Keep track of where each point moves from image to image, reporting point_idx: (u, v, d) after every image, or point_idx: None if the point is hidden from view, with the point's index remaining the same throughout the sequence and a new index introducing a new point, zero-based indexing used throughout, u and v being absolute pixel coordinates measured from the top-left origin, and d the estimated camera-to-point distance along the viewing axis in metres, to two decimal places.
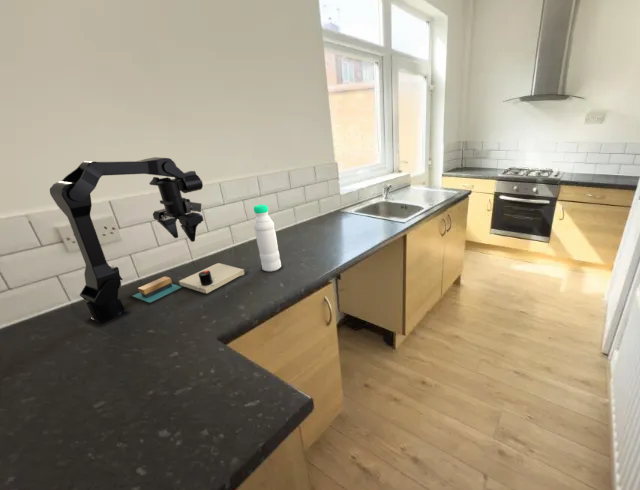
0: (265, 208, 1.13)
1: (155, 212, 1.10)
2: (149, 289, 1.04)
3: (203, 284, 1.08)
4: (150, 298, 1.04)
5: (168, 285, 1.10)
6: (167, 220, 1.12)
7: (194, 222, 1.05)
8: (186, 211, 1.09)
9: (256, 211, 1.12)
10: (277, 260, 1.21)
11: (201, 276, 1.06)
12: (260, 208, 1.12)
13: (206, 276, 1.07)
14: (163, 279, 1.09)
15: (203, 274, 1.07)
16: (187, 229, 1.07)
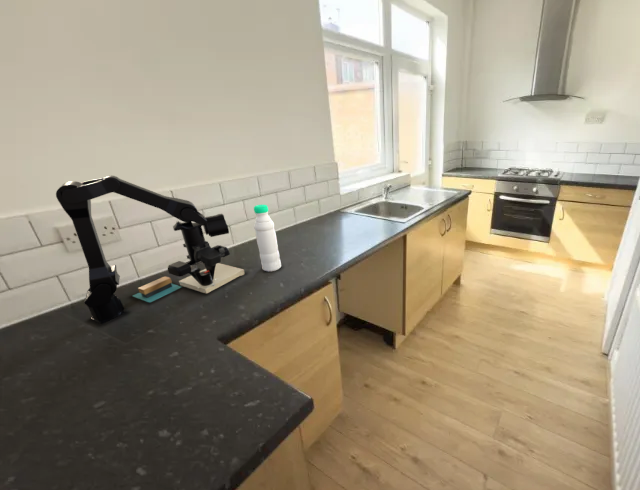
0: (265, 208, 1.13)
1: None
2: (149, 289, 1.04)
3: (203, 284, 1.08)
4: (150, 298, 1.04)
5: (168, 285, 1.10)
6: None
7: (172, 273, 0.99)
8: None
9: (256, 211, 1.12)
10: (277, 260, 1.21)
11: (201, 276, 1.06)
12: (260, 208, 1.12)
13: (206, 276, 1.07)
14: (163, 279, 1.09)
15: (203, 274, 1.07)
16: None
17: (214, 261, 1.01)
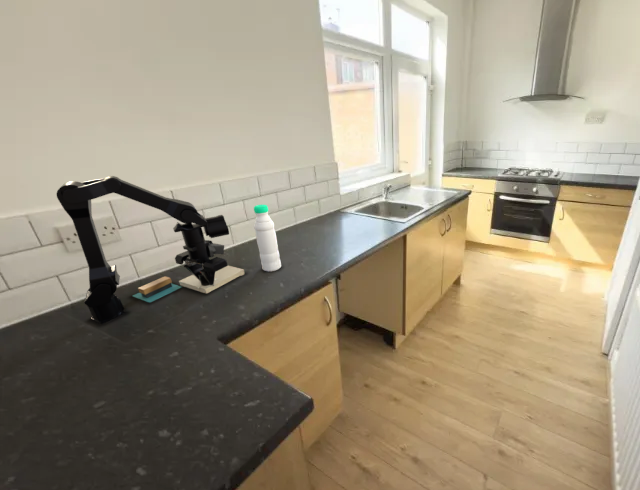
0: (265, 208, 1.13)
1: (177, 256, 1.07)
2: (149, 289, 1.04)
3: None
4: (150, 298, 1.04)
5: (168, 285, 1.10)
6: (194, 265, 1.07)
7: (219, 268, 1.02)
8: (209, 255, 1.06)
9: (256, 211, 1.12)
10: (277, 260, 1.21)
11: None
12: (260, 208, 1.12)
13: None
14: (163, 279, 1.09)
15: None
16: (206, 274, 1.04)
17: None
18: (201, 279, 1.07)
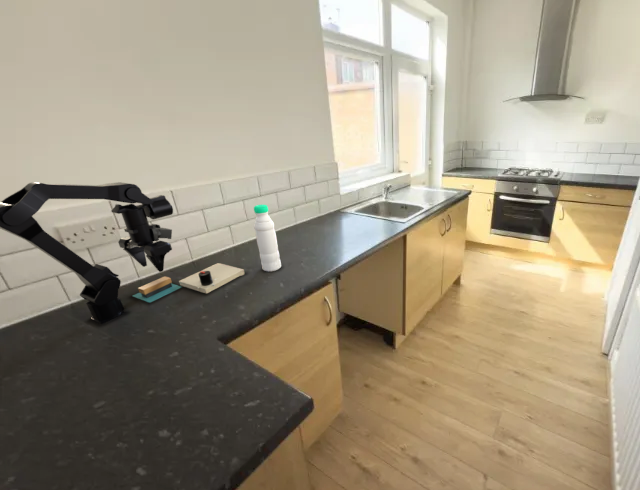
0: (265, 208, 1.13)
1: (121, 240, 1.02)
2: (149, 289, 1.04)
3: (211, 282, 1.09)
4: (150, 298, 1.04)
5: (168, 285, 1.10)
6: (134, 248, 1.04)
7: (161, 252, 0.97)
8: (153, 238, 1.01)
9: (256, 211, 1.12)
10: (277, 260, 1.21)
11: (209, 274, 1.08)
12: (260, 208, 1.12)
13: (210, 273, 1.09)
14: (163, 279, 1.09)
15: (207, 272, 1.08)
16: (153, 259, 0.99)
17: None
18: (201, 279, 1.07)
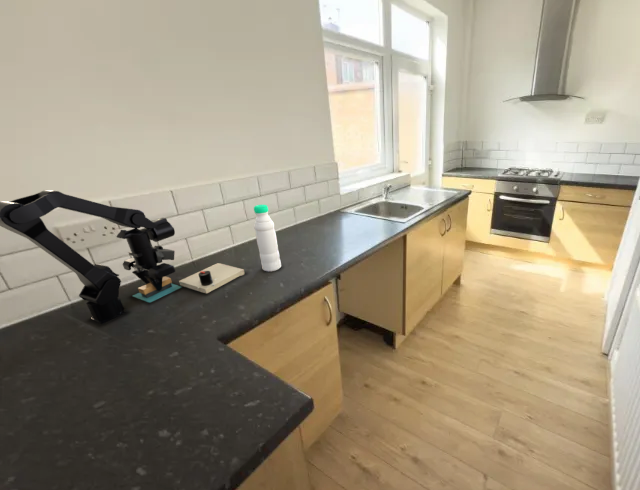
0: (265, 208, 1.13)
1: (125, 262, 1.05)
2: (149, 289, 1.04)
3: (211, 282, 1.09)
4: (150, 298, 1.04)
5: (168, 285, 1.10)
6: (143, 271, 1.06)
7: (164, 274, 1.01)
8: (157, 261, 1.04)
9: (256, 211, 1.12)
10: (277, 260, 1.21)
11: (209, 274, 1.08)
12: (260, 208, 1.12)
13: (210, 273, 1.09)
14: (163, 279, 1.09)
15: (207, 272, 1.08)
16: (152, 279, 1.03)
17: None
18: (201, 279, 1.07)
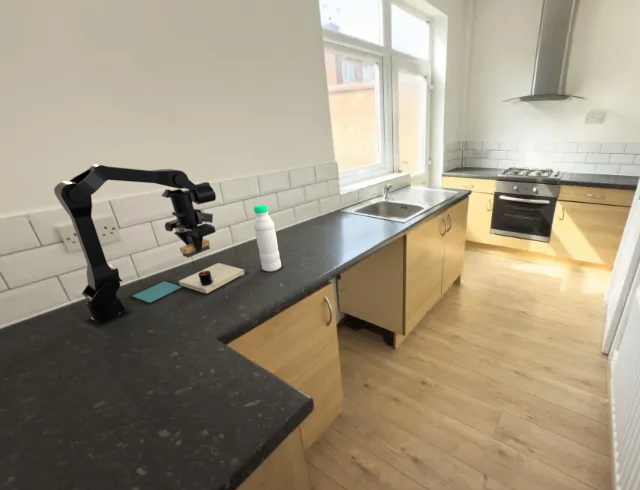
0: (265, 208, 1.13)
1: (167, 223, 1.10)
2: (190, 249, 1.09)
3: (211, 282, 1.09)
4: (150, 298, 1.04)
5: (207, 247, 1.15)
6: (184, 232, 1.10)
7: (206, 234, 1.05)
8: (198, 222, 1.09)
9: (256, 211, 1.12)
10: (277, 260, 1.21)
11: (209, 274, 1.08)
12: (260, 208, 1.12)
13: (210, 273, 1.09)
14: (202, 241, 1.14)
15: (207, 272, 1.08)
16: (194, 239, 1.08)
17: None
18: (201, 279, 1.07)
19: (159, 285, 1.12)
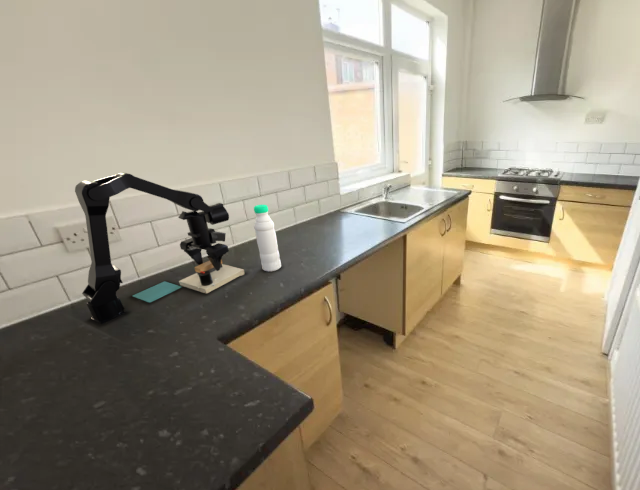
0: (265, 208, 1.13)
1: (182, 242, 1.15)
2: (204, 268, 1.14)
3: (211, 282, 1.09)
4: (150, 298, 1.04)
5: (220, 265, 1.20)
6: (193, 250, 1.16)
7: (220, 253, 1.10)
8: (212, 241, 1.14)
9: (256, 211, 1.12)
10: (277, 260, 1.21)
11: (209, 274, 1.08)
12: (260, 208, 1.12)
13: (210, 273, 1.09)
14: None
15: (207, 272, 1.08)
16: (213, 260, 1.11)
17: None
18: (201, 279, 1.07)
19: (159, 285, 1.12)
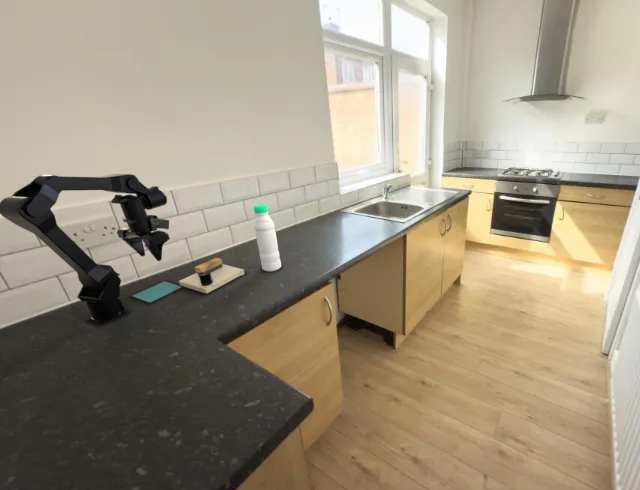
0: (265, 208, 1.13)
1: (119, 230, 1.05)
2: (204, 268, 1.14)
3: (211, 282, 1.09)
4: (150, 298, 1.04)
5: (220, 265, 1.20)
6: (132, 238, 1.06)
7: (159, 241, 1.00)
8: (151, 228, 1.04)
9: (256, 211, 1.12)
10: (277, 260, 1.21)
11: (209, 274, 1.08)
12: (260, 208, 1.12)
13: (210, 273, 1.09)
14: (215, 260, 1.19)
15: (207, 272, 1.08)
16: (152, 248, 1.01)
17: None
18: (201, 279, 1.07)
19: (159, 285, 1.12)
